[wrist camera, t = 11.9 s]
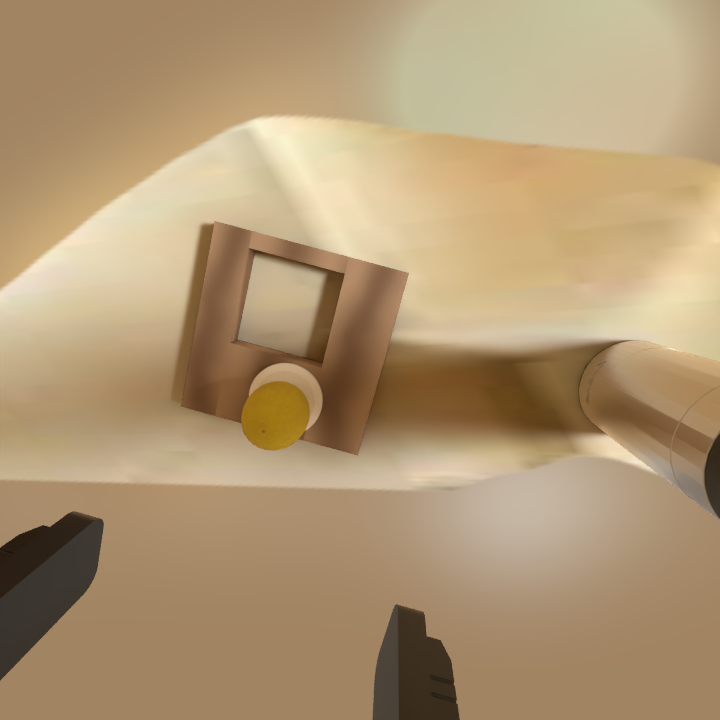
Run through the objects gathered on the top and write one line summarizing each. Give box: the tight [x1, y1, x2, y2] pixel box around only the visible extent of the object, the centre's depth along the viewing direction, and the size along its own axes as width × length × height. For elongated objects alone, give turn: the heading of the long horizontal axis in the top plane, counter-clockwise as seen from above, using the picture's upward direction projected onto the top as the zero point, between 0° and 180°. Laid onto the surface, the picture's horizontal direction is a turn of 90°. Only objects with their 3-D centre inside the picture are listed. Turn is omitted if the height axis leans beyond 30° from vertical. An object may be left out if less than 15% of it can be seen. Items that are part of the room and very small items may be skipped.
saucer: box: [249, 362, 323, 431], centre depth 42 cm, size 7×7×1 cm
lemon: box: [241, 381, 310, 450], centre depth 37 cm, size 6×6×8 cm
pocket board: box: [181, 221, 409, 455], centre depth 42 cm, size 18×18×2 cm
